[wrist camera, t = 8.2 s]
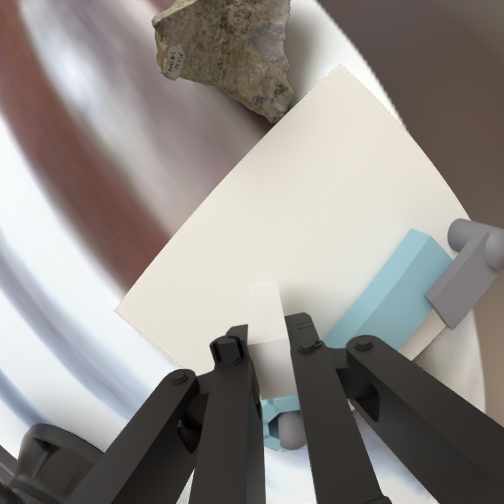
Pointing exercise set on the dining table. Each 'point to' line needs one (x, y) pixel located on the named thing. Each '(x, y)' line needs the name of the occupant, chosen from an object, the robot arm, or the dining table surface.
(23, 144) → the dining table surface
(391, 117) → the board
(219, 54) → the rock
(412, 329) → the link
